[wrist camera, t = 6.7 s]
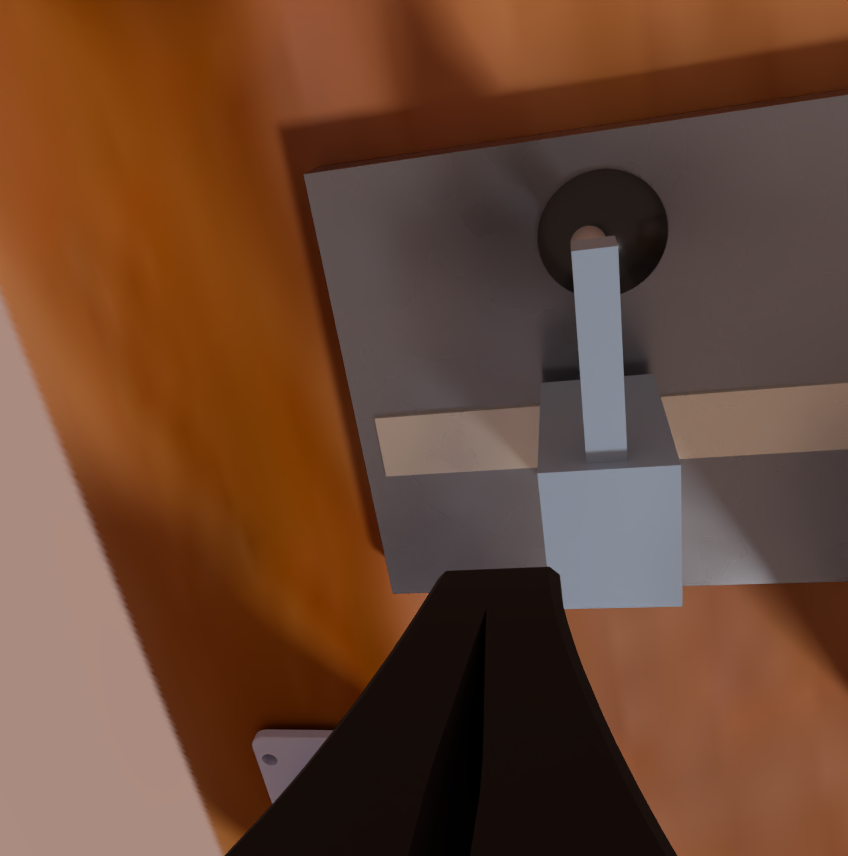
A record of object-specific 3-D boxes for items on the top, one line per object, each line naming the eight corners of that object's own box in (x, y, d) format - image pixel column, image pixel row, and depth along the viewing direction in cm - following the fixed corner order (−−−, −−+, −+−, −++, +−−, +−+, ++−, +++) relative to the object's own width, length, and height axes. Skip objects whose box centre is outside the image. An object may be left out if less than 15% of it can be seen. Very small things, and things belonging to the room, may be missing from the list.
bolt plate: (1143, 546, 18) (1337, 711, 13) (399, 570, 22) (359, 707, 17) (1302, 21, 13) (1680, 10, 9) (316, 167, 17) (231, 211, 12)
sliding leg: (656, 493, 18) (682, 606, 14) (551, 498, 18) (551, 608, 15) (648, 194, 15) (678, 243, 11) (524, 210, 15) (515, 262, 12)
